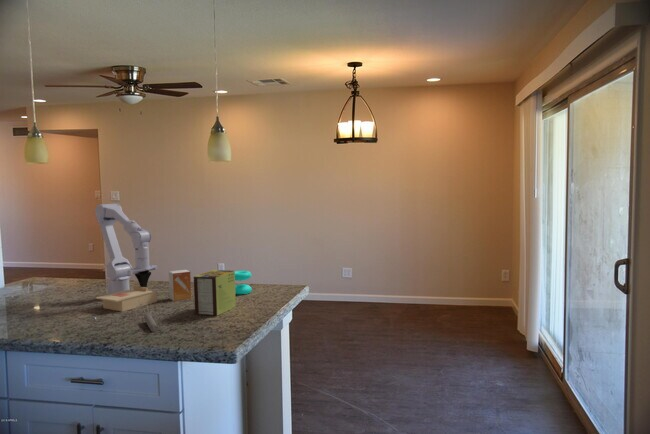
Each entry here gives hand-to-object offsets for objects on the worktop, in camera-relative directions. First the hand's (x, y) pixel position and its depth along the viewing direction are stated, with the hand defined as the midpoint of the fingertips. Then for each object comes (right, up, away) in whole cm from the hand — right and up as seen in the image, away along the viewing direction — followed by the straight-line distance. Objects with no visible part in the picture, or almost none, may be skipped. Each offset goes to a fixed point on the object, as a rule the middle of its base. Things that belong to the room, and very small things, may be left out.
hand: (143, 288), depth 223 cm
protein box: (+35, -7, -15) cm, 39 cm away
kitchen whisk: (+13, -9, -30) cm, 34 cm away
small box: (+15, -6, +4) cm, 17 cm away
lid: (-5, -2, -9) cm, 10 cm away
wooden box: (-3, -7, -6) cm, 10 cm away
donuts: (+40, -5, +16) cm, 44 cm away
